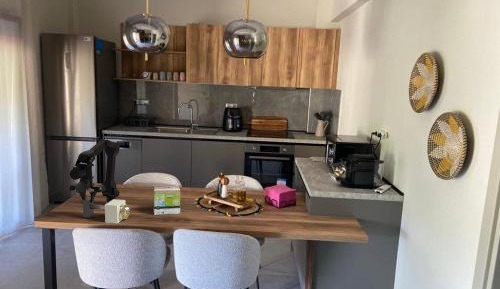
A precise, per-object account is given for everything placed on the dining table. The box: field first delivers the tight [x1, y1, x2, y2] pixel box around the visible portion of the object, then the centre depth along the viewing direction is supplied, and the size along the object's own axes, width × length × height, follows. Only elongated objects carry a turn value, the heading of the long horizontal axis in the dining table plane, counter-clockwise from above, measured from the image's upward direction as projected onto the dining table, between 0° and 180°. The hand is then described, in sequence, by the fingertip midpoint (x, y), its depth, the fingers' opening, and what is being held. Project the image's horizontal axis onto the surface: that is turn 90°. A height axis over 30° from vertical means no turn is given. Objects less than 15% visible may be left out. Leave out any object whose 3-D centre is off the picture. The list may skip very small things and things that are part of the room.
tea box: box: [153, 185, 181, 216], centre depth 227 cm, size 15×10×15 cm
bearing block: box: [104, 198, 127, 224], centre depth 212 cm, size 10×7×10 cm
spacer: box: [122, 203, 131, 220], centre depth 211 cm, size 7×1×7 cm, turn 173°
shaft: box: [82, 197, 131, 218], centre depth 213 cm, size 4×26×10 cm, turn 83°
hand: (88, 202), depth 214 cm, fingers closed on shaft, 4 cm apart
